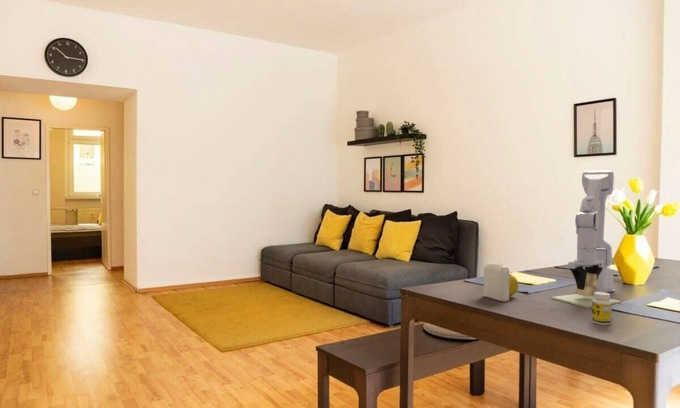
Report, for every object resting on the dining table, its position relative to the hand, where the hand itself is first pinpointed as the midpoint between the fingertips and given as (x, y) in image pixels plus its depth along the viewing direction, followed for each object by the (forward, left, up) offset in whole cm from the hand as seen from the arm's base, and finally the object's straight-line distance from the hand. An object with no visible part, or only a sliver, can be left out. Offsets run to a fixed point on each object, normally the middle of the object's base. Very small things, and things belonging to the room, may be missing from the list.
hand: (585, 288), depth 166 cm
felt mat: (0, 0, -4) cm, 4 cm away
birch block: (0, 0, -2) cm, 2 cm away
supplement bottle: (+19, +21, -4) cm, 29 cm away
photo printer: (+25, -15, -4) cm, 30 cm away
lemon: (+19, -15, -4) cm, 25 cm away
